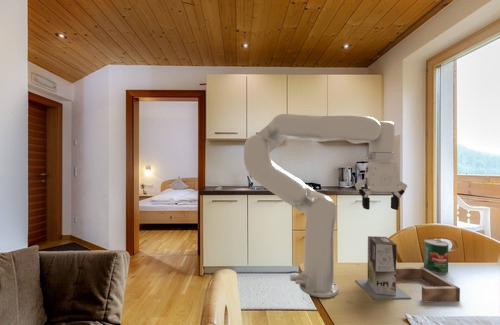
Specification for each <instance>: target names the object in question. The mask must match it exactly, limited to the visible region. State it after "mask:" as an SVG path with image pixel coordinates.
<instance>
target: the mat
mask: <svg viewBox="0 0 500 325" xmlns="http://www.w3.org/2000/svg"><path fill="white" fill-rule="evenodd" d="M354 281H355V282H356V283H357V284H358V285H359V286H360V287H361V288H362V290H364V291H365V292H366V293H367V294H368V295H369V297H371V299H373V300H411V299H412V296H410V295H409V294H407V292H404V291H403V290H402V289H401V288H400V287H399V286H397V285H396V295H395V296H394V295H385V294H376V293H375V292H374V290H373V289H372V287H371V286H370V284H369V283H368V279H355V280H354Z"/></svg>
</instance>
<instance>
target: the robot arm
mask: <svg viewBox="0 0 500 325" xmlns="http://www.w3.org/2000/svg"><path fill="white" fill-rule="evenodd" d="M395 129H396V128H395V123H394V122H393V121H388V120H379V121H378V120H377V119H375V118H374V117H370V116H362V115H361V116H360V115H306V114H292V113H282V114H278V115H276V116H275V117H273V118H272V120H271V121H270V122H269V123H268V124H267V125H266V126H265V127H263V128H262V129H261V130H260V131H259V132H257V133H256V134H255V135H251V136H249V137H248V138H247V139H246V141H245V142H244V146H243V162H244V166H245V169H246V171H247V172H248V174H249V176H250V178H252V179H253V180H254V181H255V182H257V184H259V185H261V186H262V187H263V188H265V189H266V190H268V191H269V192H271V193H272V194H273V195H275V196H277V197H278V198H279V199H280V200H281V201H283V202H284V203H286V204H288V205H290V206H291V207H292V208H294V209H296V210H297V211H298V212H299V211H300V213H302V214H304V216H306V218H305V219H306V220H305V227H304V250H303V251H304V255H303V257H304V262H303V263H304V264H303V265H304V268H303V270H301V273H298V274H297V275H296V274H290V275H289V280H290V282H294V283H295V285H299V288H300V290H301V291H302V292H303V293H305V294H306V295H309V296H311V297H316V298H321V299H323V298H324V299H325V298H327V299H328V298H333V297H335V296H337V295H338V293H339V286H338V284H337V283H336V282H334V275H335V274H334V273H335V271H334V269H335V268H334V267H335V262H334V261H335V228H336V221H337V213H338V212H337V210H338V209H337V206H336V204H335V201H334V200H333V199H332V198H331V197H330V196H328V195H327V194H324V193H322V192H318V191H317V190H315V189H313V188H312V187H310V186H309V185H308V184H306V183H304V181H303V180H302V179H300V178H299V177H297V176H295V175H293V174H292V173H290V172H288V171H286V170H285V169H284V168H282V167H281V166H280V165H277V164H276V163H275V162H274V161H273V160H272V158H271V155H270V153H271V152H273V151H274V150H275V149H276V148H277V147H279V146H280V145H282V143H283V142H285V141H286V140H289V141H302V142H315V143H316V142H329V141H336V140H337V141H338V140H339V141H341V140H343V141H344V140H346V141H347V142H349V143H351V144H354V145H355V144H364V143H368V147H369V148H368V149H369V150H368V154H365V156H364V159H367V160H368V161H367V163H366V166H365V171H364V178H363V179H362V180H360V181H358V182H356V183H354V186H355V189H356V191H357V193H358V194H359V195H360V196H361V199H362V202H361V203H362V204H361V206H362V208H363V209H365V210H367V211H368V210H370V206H371V204H370V197H369V196H370V195H371V194H372V193H383V194H384V193H387V194H389V193H390V195H391V197H390V208H391V209H393V210H396V211H399V207H400V199H401V198H402V196H403V194H405V191H406V190H407V188H408V185H407V184H406V183H405V182H403V181H400V172H399V168H398V163H397V162H395V139H396V138H395V137H396V136H395V131H396V130H395ZM362 186H363V188H364V190H363V188H362Z"/></svg>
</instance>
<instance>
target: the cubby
mask: <svg viewBox="0 0 500 325" xmlns="http://www.w3.org/2000/svg"><path fill="white" fill-rule="evenodd" d="M415 280H416V281H418V280H419V281H424V282H425V283H427V284H428V285H429V286H421V301H422V302H424V303H426V302H427V303H429V302H430V303H431V302H434V303H436V302H461V301H460V300H461V288H460V287H458V286H457V285H455V284H453V283H451V282H449V281H448V280H446V279H444V278H443V277H441V276H439V275H437V273H434V272H430V271H429V270H427V269H425V268H424V266H420V267H419V266H417V267H412V266H411V267H410V266H409V267H405V266H402V267H398V266H396V281H415Z"/></svg>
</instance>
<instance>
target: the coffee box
mask: <svg viewBox="0 0 500 325" xmlns="http://www.w3.org/2000/svg"><path fill="white" fill-rule="evenodd" d="M396 267H397V243H395V242H393V241H392V240H391V239H389V237H387V236H371V235H370V236H369V235H368V236H367V280H368V283H369V284H370V286H371V287H372V289H373V290H374V292H375V293H376V294H385V295H394V296H395V295H396V286H397V280H396Z"/></svg>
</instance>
